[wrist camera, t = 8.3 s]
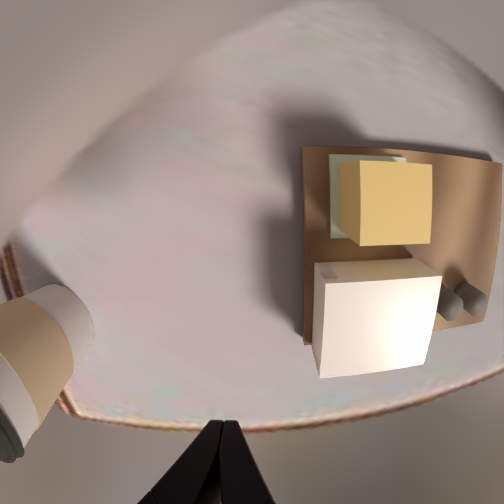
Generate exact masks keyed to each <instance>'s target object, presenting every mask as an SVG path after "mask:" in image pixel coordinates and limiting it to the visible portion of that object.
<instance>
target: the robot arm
mask: <svg viewBox="0 0 504 504" xmlns="http://www.w3.org/2000/svg"><path fill="white" fill-rule="evenodd" d="M220 503H221V504H276V503H275V501H274V500H273V498H272V495H271V494H270V491H269V489H268V487H267V485H266V483H265V481H264V479H263V477H262V475H261V473H260V470H259V468H258V466H257V464H256V462H255V460H254V458H253V455H252V453H251V451H250V448H249V446H248V444H247V442H246V439H245V437H244V435H243V432H242V430H241V428H240V425H239V423H238V421H236V420H225V421H223V420H210V421H209V422H208V423H207V425H206V426H205V427H204V428H203V430H202V431H201V432H200V433H199V434H198V436H197V437H196V438H195V439H194V441H193V442H192V443H191V444H190V445H189V447H188V448H187V449H186V450H185V451H184V453H183V454H182V455H181V456H180V457H179V458H178V459H177V461H176V462H175V463H174V464H173V465H172V466H171V468H170V469H169V470H168V471H167V472H166V473H165V474H164V475H163V477H162V478H161V479H160V480H159V481H158V482H157V483H156V484H155V486H154V487H153V488H152V489H151V491H149V492H148V493H147V494H146V495H145V496H144V497H143V498H142V499H141V500H140V501H139V502H138V503H137V504H220Z"/></svg>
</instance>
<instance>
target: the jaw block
mask: <svg viewBox="0 0 504 504" xmlns="http://www.w3.org/2000/svg"><path fill="white" fill-rule="evenodd" d="M339 180H340V231H342V232H343V233H344V234H345V235H347V236H348V237H349V238H350V239H352V240H353V241H354V242H355V243H357V244H358V245H359V246H376V245H403V244H429V243H430V236H431V220H432V165H431V164H418V163H404V162H387V161H363V160H359V161H351V162H342V163H339Z"/></svg>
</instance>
